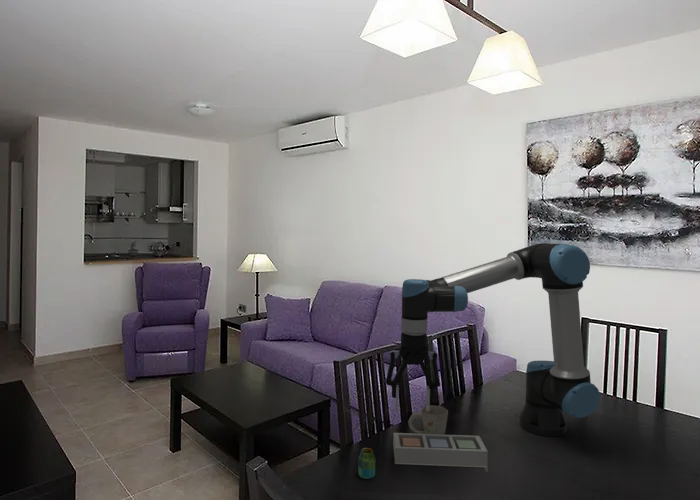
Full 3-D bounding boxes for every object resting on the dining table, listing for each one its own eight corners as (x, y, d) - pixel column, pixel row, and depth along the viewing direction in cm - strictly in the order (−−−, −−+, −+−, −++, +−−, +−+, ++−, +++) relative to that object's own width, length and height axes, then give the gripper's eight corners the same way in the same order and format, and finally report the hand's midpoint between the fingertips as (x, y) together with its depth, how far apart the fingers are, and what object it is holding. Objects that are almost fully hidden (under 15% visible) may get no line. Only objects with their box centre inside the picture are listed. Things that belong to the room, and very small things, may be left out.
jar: (357, 475, 129) (357, 446, 129) (373, 474, 129) (374, 446, 129) (358, 484, 124) (359, 454, 124) (376, 483, 125) (376, 454, 124)
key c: (418, 446, 140) (419, 438, 140) (420, 454, 135) (420, 446, 135) (402, 445, 141) (402, 437, 140) (403, 453, 136) (403, 445, 135)
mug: (447, 448, 146) (448, 416, 146) (406, 443, 149) (407, 412, 148) (447, 436, 154) (448, 406, 154) (408, 432, 157) (409, 403, 156)
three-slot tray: (478, 453, 143) (479, 435, 142) (487, 472, 132) (488, 452, 131) (393, 450, 144) (393, 432, 144) (394, 468, 133) (395, 448, 133)
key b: (445, 447, 140) (445, 439, 140) (448, 455, 135) (448, 447, 135) (428, 446, 140) (429, 438, 140) (431, 454, 135) (431, 446, 135)
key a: (472, 448, 140) (472, 440, 140) (476, 456, 135) (476, 448, 135) (455, 447, 140) (455, 439, 140) (458, 455, 135) (459, 447, 135)
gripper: (448, 330, 140) (446, 405, 141) (377, 328, 141) (376, 402, 142) (452, 336, 132) (450, 415, 133) (378, 334, 133) (376, 412, 134)
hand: (412, 408), depth 137 cm, fingers open, 8 cm apart
